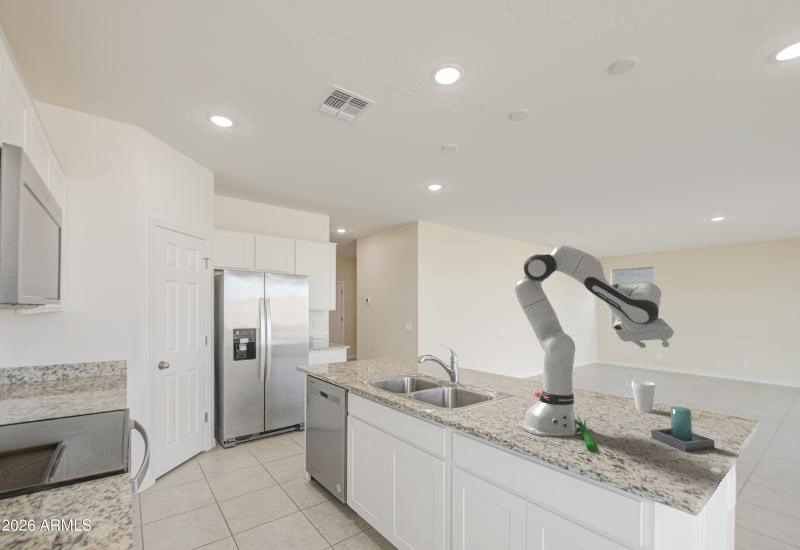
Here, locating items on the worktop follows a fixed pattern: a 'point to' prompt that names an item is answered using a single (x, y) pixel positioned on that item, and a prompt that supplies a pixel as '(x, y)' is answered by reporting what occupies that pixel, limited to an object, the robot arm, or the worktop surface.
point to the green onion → (585, 435)
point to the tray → (694, 445)
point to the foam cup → (643, 395)
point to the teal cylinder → (681, 423)
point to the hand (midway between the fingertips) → (654, 346)
